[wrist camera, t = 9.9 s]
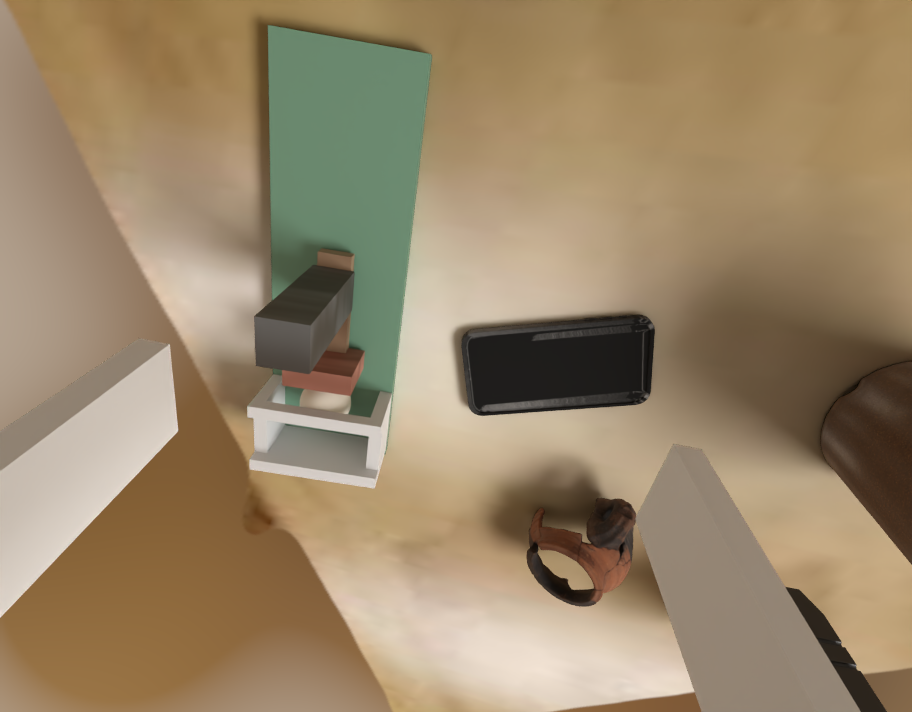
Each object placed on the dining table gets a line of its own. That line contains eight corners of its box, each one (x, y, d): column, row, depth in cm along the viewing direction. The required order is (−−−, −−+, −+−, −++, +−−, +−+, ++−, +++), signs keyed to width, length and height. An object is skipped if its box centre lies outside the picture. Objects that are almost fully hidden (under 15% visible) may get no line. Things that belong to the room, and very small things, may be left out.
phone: (649, 403, 40) (469, 416, 42) (645, 396, 41) (470, 409, 43) (655, 315, 37) (459, 332, 38) (651, 310, 38) (460, 327, 39)
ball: (294, 433, 39) (310, 398, 42) (344, 441, 39) (356, 405, 42) (290, 399, 36) (307, 364, 39) (343, 407, 36) (356, 371, 39)
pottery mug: (615, 562, 50) (587, 630, 44) (538, 506, 53) (502, 563, 47) (679, 503, 42) (656, 576, 37) (585, 440, 45) (549, 499, 39)
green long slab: (274, 27, 30) (229, 8, 25) (432, 55, 31) (421, 43, 25) (278, 430, 44) (250, 474, 39) (387, 447, 44) (374, 493, 39)
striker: (303, 245, 35) (234, 295, 25) (372, 256, 35) (330, 311, 25) (302, 358, 39) (242, 439, 29) (363, 368, 39) (324, 452, 29)
